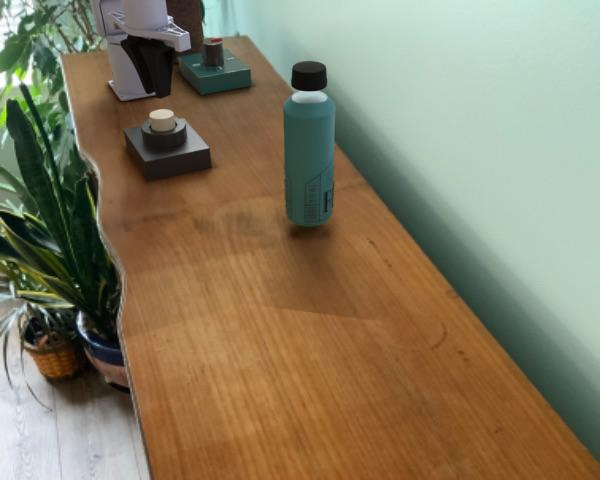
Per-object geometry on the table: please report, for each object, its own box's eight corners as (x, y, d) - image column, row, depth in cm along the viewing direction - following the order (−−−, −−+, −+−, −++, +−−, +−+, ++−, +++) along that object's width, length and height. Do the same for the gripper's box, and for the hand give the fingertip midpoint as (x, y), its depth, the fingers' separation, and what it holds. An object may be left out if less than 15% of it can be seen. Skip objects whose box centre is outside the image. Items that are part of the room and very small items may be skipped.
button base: (126, 148, 100) (120, 116, 96) (186, 135, 103) (182, 104, 99) (148, 181, 92) (142, 148, 89) (212, 167, 95) (208, 134, 92)
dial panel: (180, 73, 122) (177, 55, 119) (228, 64, 125) (226, 47, 122) (201, 94, 114) (199, 76, 112) (251, 85, 117) (250, 67, 115)
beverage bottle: (328, 240, 82) (334, 77, 67) (279, 234, 83) (274, 73, 68) (336, 214, 86) (344, 56, 71) (289, 209, 87) (287, 52, 72)
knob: (207, 67, 115) (204, 44, 113) (199, 60, 118) (197, 37, 115) (227, 63, 117) (225, 40, 114) (219, 57, 119) (217, 34, 116)
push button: (148, 125, 95) (146, 111, 93) (171, 121, 96) (169, 107, 94) (155, 134, 93) (153, 121, 91) (178, 130, 94) (176, 116, 92)
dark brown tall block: (165, 55, 128) (147, -65, 114) (199, 49, 131) (186, -68, 116) (176, 67, 124) (159, -56, 109) (211, 61, 126) (199, -60, 111)
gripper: (202, -12, 80) (213, 98, 89) (129, -31, 86) (146, 74, 96) (160, 0, 76) (176, 114, 86) (86, -21, 82) (109, 87, 92)
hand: (158, 94), depth 91 cm, fingers closed
